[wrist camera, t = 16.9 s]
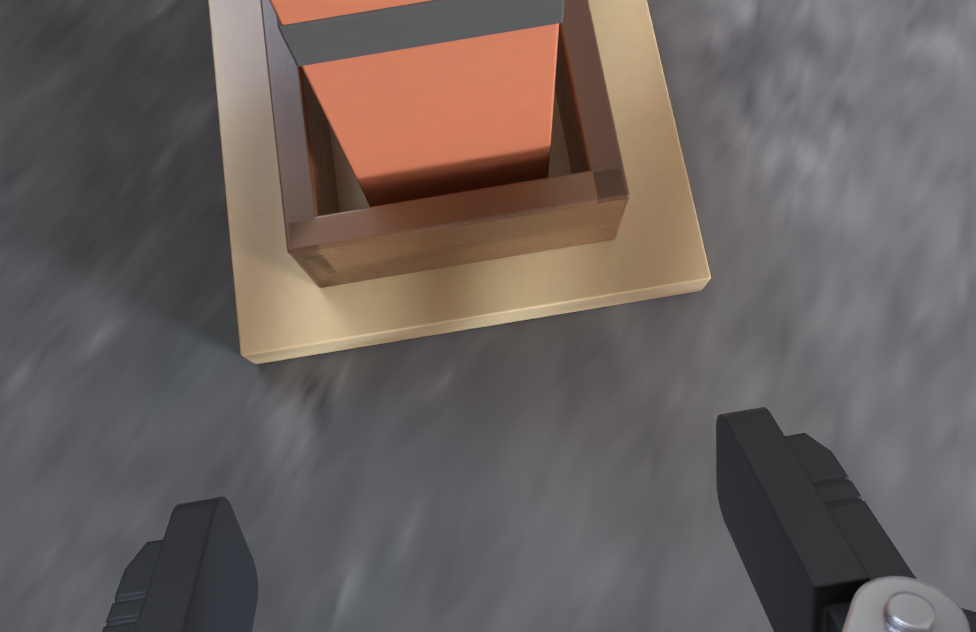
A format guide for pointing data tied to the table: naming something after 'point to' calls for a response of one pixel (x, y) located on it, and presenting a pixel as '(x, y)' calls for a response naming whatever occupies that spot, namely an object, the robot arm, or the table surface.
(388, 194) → the orange striped block
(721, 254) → the table surface
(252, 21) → the base pad
